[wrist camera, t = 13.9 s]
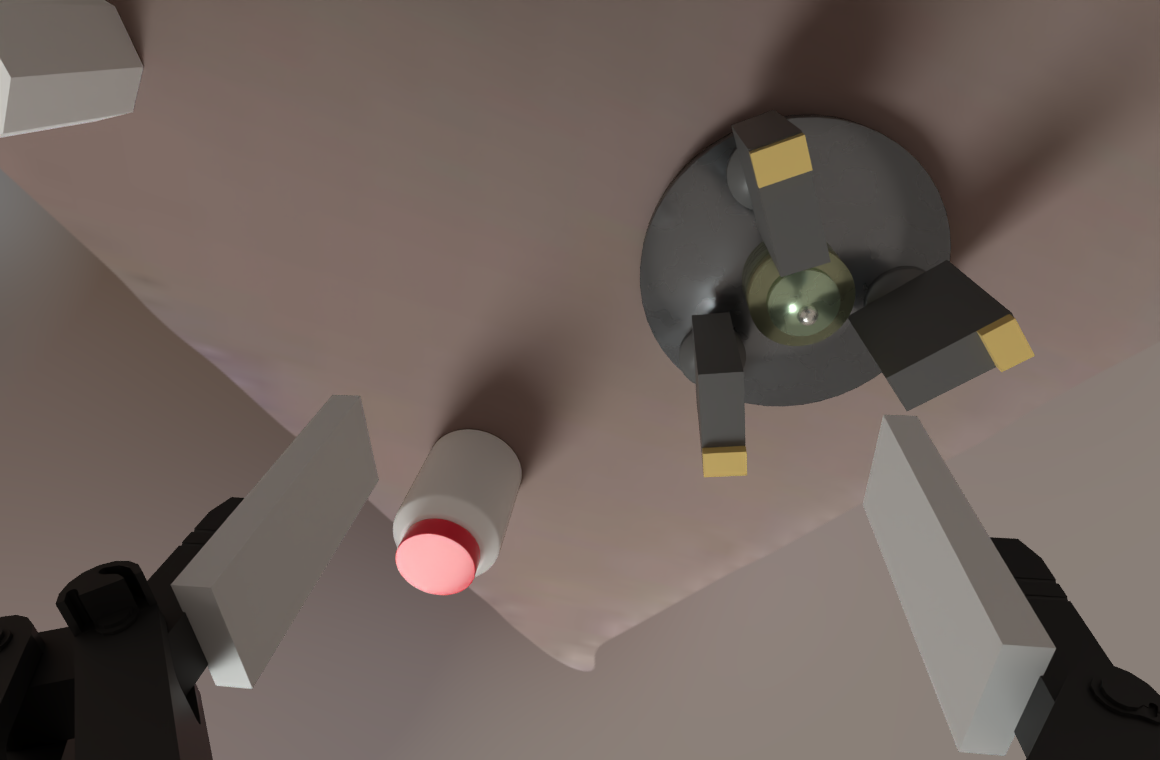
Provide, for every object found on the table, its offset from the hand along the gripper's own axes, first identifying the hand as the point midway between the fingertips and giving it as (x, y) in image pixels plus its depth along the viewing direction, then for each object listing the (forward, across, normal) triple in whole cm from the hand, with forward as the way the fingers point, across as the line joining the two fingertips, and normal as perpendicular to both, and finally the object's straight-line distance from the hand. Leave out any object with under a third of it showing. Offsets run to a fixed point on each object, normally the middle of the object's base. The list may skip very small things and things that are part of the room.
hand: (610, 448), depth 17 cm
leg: (+27, +16, -7) cm, 32 cm away
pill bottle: (+29, -13, -23) cm, 39 cm away
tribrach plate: (+29, +9, -6) cm, 31 cm away
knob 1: (+27, +5, -11) cm, 30 cm away
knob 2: (+27, +7, +1) cm, 28 cm away
